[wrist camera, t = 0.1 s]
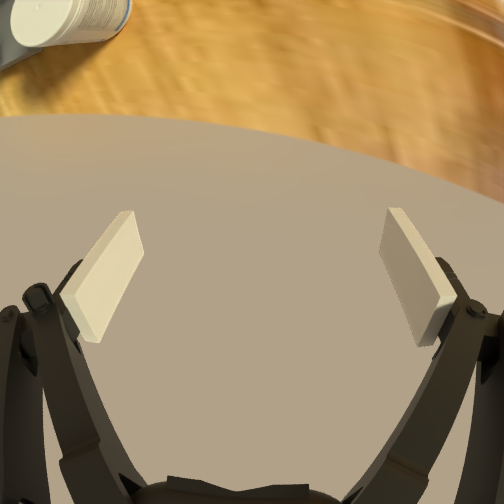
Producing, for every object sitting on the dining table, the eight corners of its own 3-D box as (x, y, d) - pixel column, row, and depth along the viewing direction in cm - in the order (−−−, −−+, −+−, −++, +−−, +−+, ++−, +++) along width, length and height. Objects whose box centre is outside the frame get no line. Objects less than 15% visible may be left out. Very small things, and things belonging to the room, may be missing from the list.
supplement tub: (116, -29, 25) (56, -51, 13) (147, 13, 30) (91, -1, 18) (66, 14, 29) (-2, 14, 17) (94, 56, 33) (27, 65, 21)
